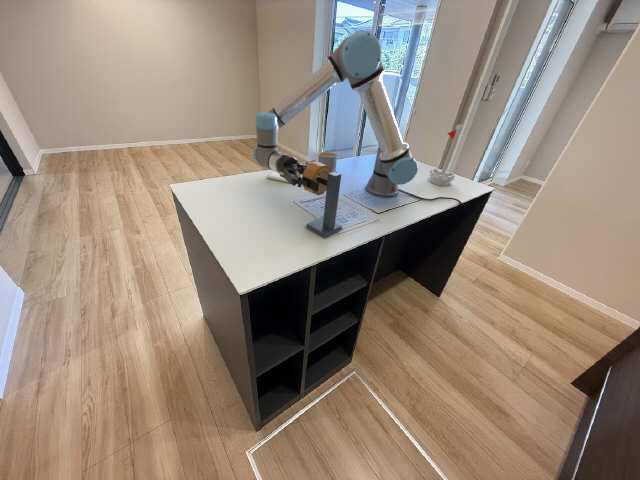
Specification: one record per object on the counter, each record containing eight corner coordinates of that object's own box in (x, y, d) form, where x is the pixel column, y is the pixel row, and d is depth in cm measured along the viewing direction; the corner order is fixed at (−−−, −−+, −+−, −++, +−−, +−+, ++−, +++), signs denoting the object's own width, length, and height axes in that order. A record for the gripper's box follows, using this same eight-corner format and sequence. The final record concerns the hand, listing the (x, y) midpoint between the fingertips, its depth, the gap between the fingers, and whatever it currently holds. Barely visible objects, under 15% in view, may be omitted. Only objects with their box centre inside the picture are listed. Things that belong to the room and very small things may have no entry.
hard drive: (275, 173, 132) (296, 178, 129) (267, 178, 125) (290, 183, 122) (275, 170, 131) (297, 175, 128) (267, 175, 124) (290, 180, 121)
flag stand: (456, 183, 141) (479, 126, 124) (443, 188, 134) (466, 128, 117) (435, 176, 149) (454, 121, 132) (422, 179, 142) (441, 122, 125)
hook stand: (324, 238, 85) (331, 179, 73) (299, 222, 92) (301, 167, 80) (341, 229, 91) (349, 173, 79) (315, 215, 98) (320, 162, 86)
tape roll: (321, 186, 91) (323, 159, 85) (330, 190, 88) (333, 162, 83) (301, 193, 84) (302, 164, 79) (310, 198, 82) (312, 168, 76)
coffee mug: (326, 176, 133) (328, 158, 128) (313, 171, 139) (315, 153, 133) (342, 172, 142) (345, 154, 136) (330, 167, 147) (332, 149, 141)
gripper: (305, 168, 102) (348, 186, 90) (259, 181, 87) (303, 203, 76) (306, 149, 98) (351, 165, 86) (258, 159, 83) (304, 180, 71)
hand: (329, 183), depth 81 cm, fingers closed on tape roll, 10 cm apart
